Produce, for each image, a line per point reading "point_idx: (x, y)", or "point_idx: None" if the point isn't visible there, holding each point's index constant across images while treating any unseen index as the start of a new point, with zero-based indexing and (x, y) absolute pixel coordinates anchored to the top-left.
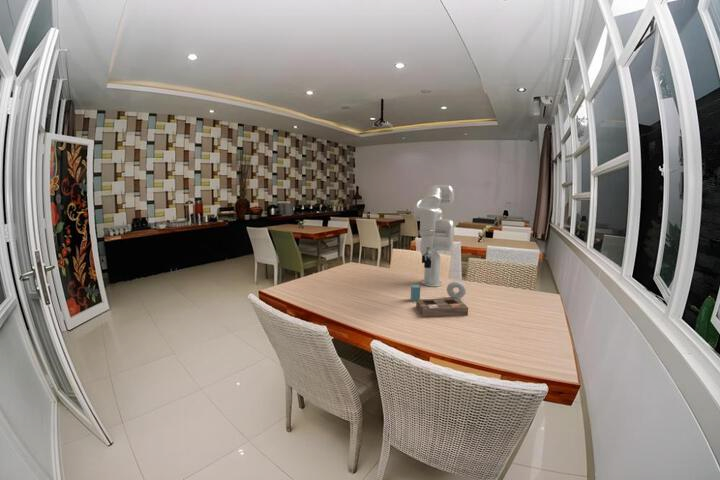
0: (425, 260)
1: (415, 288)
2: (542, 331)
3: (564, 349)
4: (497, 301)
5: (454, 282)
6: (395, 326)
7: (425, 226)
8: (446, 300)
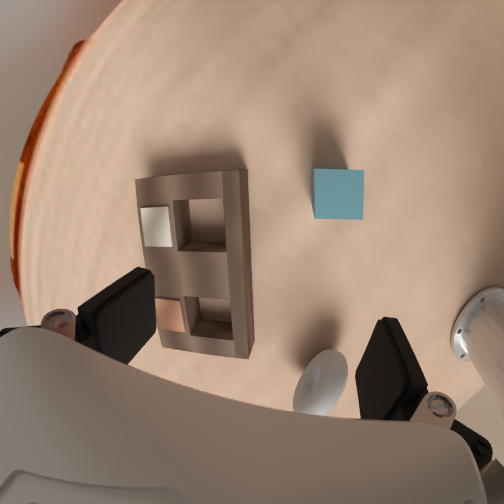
0: (83, 316)
1: (314, 185)
2: None
3: None
4: None
5: (316, 404)
6: (106, 83)
7: None
8: (231, 310)
